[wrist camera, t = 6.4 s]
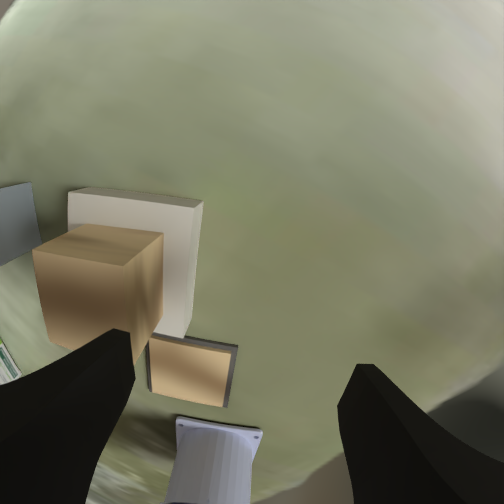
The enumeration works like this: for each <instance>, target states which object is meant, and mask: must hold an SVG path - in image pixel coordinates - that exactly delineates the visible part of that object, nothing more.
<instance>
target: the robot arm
mask: <svg viewBox="0 0 504 504" xmlns="http://www.w3.org/2000/svg"><path fill="white" fill-rule="evenodd" d="M135 379H136V378H135V371H134V364H133V356H132V347H131V338H130V332H126V331H122V330H119V329H115V328H113V329H111V330H109V331H107V332H105V333H103V334H102V335H100V336H98V337H97V338H95V339H93V340H92V341H90V342H88V343H87V344H85V345H83V346H82V347H80V348H78V349H76V350H75V351H73V352H71V353H69V354H68V355H66V356H64V357H63V358H61V359H59V360H57V361H55V362H53V363H51V364H49V365H47V366H45V367H43V368H41V369H39V370H37V371H35V372H33V373H31V374H28V375H26V376H24V377H21V378H19V379H16V380H13V381H11V382H8V383H5V384H2V385H0V504H85V502H86V498H87V495H88V491H89V487H90V484H91V480H92V477H93V474H94V471H95V468H96V465H97V462H98V460H99V457H100V455H101V453H102V451H103V449H104V447H105V445H106V443H107V441H108V439H109V437H110V435H111V433H112V431H113V429H114V427H115V425H116V423H117V421H118V419H119V417H120V415H121V413H122V411H123V409H124V407H125V405H126V403H127V401H128V398H129V396H130V393H131V390H132V387H133V384H134V381H135ZM337 409H338V421H339V430H340V435H341V440H342V444H343V448H344V453H345V457H346V461H347V465H348V470H349V474H350V479H351V483H352V489H353V496H354V504H504V463H503V462H500V461H497V460H495V459H493V458H490V457H489V456H486V455H484V454H483V453H481V452H479V451H477V450H475V449H474V448H472V447H470V446H469V445H467V444H465V443H464V442H462V441H461V440H459V439H458V438H456V437H455V436H453V435H452V434H450V433H449V432H448V431H446V430H445V429H444V428H443V427H441V426H440V425H439V424H438V423H436V422H435V421H434V420H433V419H431V418H430V417H429V416H428V415H427V414H426V413H425V412H424V411H422V410H421V409H420V408H419V407H418V406H417V405H416V404H415V403H414V402H413V401H412V400H411V399H410V398H408V397H407V396H406V395H405V394H404V393H403V392H402V391H401V390H400V389H399V388H398V387H397V386H396V385H395V384H394V383H393V382H392V381H391V380H390V379H389V378H388V377H387V376H386V375H385V374H384V373H383V372H382V371H381V370H380V369H378V368H377V367H376V366H375V365H374V364H357V365H356V367H355V369H354V371H353V374H352V376H351V378H350V380H349V382H348V384H347V387H346V389H345V391H344V393H343V395H342V397H341V399H340V401H339V403H338V405H337ZM262 435H263V431H262V430H260V429H255V428H246V427H238V426H231V425H225V424H218V423H212V422H207V421H201V420H196V419H191V418H187V417H182V416H179V417H177V418H176V440H177V454H176V458H175V462H174V466H173V470H172V473H171V477H170V481H169V485H168V489H167V493H166V497H165V501H164V503H163V502H160V504H250V490H251V470H252V462H253V459H254V456H255V454H256V451H257V449H258V446H259V443H260V440H261V438H262Z"/></svg>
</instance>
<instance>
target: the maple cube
mask: <svg viewBox="0 0 504 504" xmlns="http://www.w3.org/2000/svg"><path fill="white" fill-rule="evenodd" d="M163 245H164V233H161V232H153V231H145V230H137V229H129V228H120V227H112V226H104V225H95V224H85V225H82V226H80V227H78V228H76V229H73V230H71V231H69V232H67V233H65V234H63V235H61V236H58V237H56V238H54V239H52V240H50V241H48V242H46V243H44V244H42V245H40V246H38V247H36V248H34V249H32V254H33V262H34V269H35V276H36V282H37V287H38V293H39V298H40V303H41V307H42V312H43V316H44V320H45V324H46V328H47V332H48V336H49V339H50V342H52V343H55V344H58V345H60V346H63V347H66V348H69V349H72V350H76V349H78V348H80V347H82V346H83V345H85V344H87V343H88V342H90V341H92V340H93V339H95V338H97V337H98V336H100V335H102V334H103V333H105V332H107V331H109V330H111V329H113V328H115V329H119V330H122V331H126V332H130V338H131V347H132V356H133V364H134V365H135V363H136V361H137V359H138V358H139V356H140V354H141V352H142V351H143V349H144V347H145V345H146V343H147V342H148V340H149V338H150V337H151V335H152V333H153V331H154V330H155V328H156V326H157V324H158V323H159V321H160V319H161V318H162V316H163Z"/></svg>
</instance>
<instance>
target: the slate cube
mask: <svg viewBox="0 0 504 504" xmlns="http://www.w3.org/2000/svg"><path fill="white" fill-rule="evenodd" d="M40 245H42V240H41V236H40V232H39V227H38V222H37V217H36V212H35V206H34V200H33V193H32V186H31V182H28V183H23V184H18V185H14V186H9V187H5V188H1V189H0V266H2V265H4V264H6V263H8V262H9V261H11V260H13V259H15V258H17V257H19V256H21V255H22V254H24V253H26V252H28V251H30V250H32V249H34V248H36V247H38V246H40Z"/></svg>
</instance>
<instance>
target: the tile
mask: <svg viewBox="0 0 504 504" xmlns="http://www.w3.org/2000/svg"><path fill="white" fill-rule="evenodd" d="M237 350H238V345H234V344H228V343H222V342H216V341H211V340H205V339H200V338H195V337H190V336H185V335H184V338H178V337H173V336H169V335H164V334H160V333H156V332H153V333H152V335H151V337H150V338H149V340H148V342H147V343H146V353H147V368H148V381H149V391H150V392H154V393H157V394H161V395H165V396H170V397H174V398H178V399H183V400H187V401H192V402H197V403H202V404H208V405H213V406H219V407H226V408H227V406H228V400H229V395H230V389H231V383H232V378H233V372H234V367H235V361H236V355H237Z"/></svg>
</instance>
